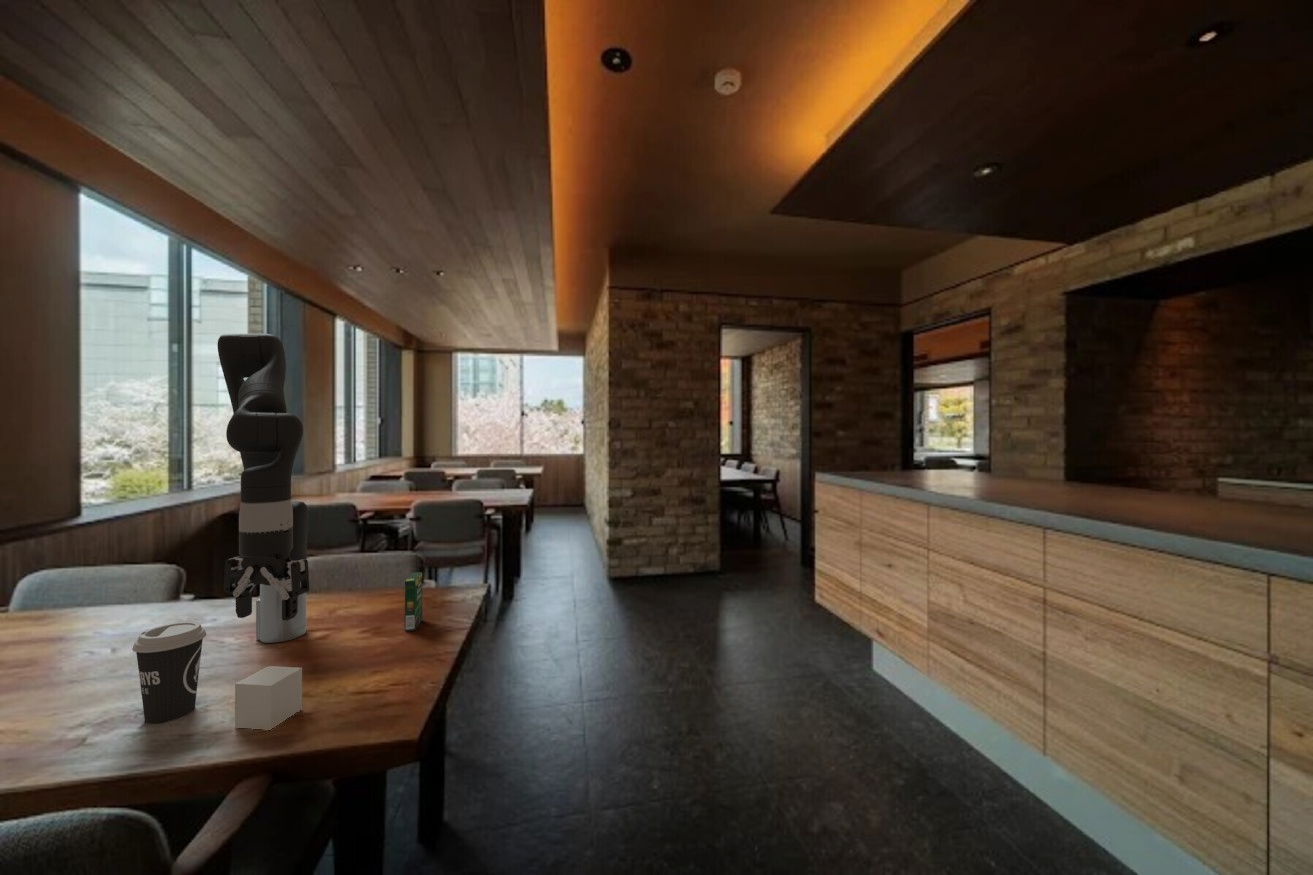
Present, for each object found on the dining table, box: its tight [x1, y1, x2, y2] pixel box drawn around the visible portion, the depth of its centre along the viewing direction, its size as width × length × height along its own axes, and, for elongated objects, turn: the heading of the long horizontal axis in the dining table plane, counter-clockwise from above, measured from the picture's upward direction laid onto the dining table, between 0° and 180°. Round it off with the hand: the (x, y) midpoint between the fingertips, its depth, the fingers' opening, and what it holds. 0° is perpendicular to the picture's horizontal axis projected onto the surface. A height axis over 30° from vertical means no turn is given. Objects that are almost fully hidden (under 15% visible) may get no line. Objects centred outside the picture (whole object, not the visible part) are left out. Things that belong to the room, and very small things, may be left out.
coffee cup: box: [131, 621, 207, 724], centre depth 90 cm, size 10×10×15 cm
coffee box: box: [404, 571, 423, 632], centre depth 132 cm, size 8×3×13 cm, turn 13°
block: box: [234, 665, 303, 731], centre depth 89 cm, size 7×7×8 cm
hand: (266, 617), depth 89 cm, fingers open, 8 cm apart
